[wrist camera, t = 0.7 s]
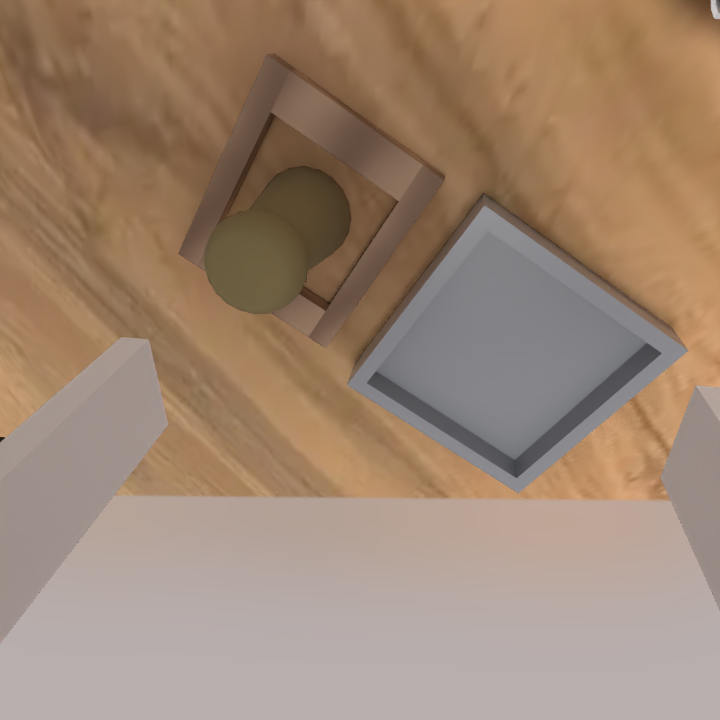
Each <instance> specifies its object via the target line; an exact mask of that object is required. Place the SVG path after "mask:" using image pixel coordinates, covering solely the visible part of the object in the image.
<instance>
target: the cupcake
mask: <svg viewBox="0 0 720 720" xmlns="http://www.w3.org/2000/svg"><path fill="white" fill-rule="evenodd" d="M710 5H711V11H712V14H713V17H714V19H720V0H710Z"/></svg>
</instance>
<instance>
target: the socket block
mask: <svg viewBox="0 0 720 720" xmlns="http://www.w3.org/2000/svg"><path fill="white" fill-rule="evenodd" d="M274 115H275V116H277V117H278V118H280V119H281V120H283V121H284V122H286V123H287V124H288V125H290V126H291V127H293V128H294V129H296V130H297V131H298V132H300V133H301V134H303V135H304V136H306V137H307V138H308V139H310V140H311V141H313V142H314V143H316V144H317V145H319V146H320V147H321V148H323V149H324V150H326V151H327V152H329V153H330V154H331V155H333V156H334V157H336V158H337V159H339V160H340V161H342V162H343V163H344V164H346V165H347V166H349V167H350V168H352V169H353V170H354V171H356V172H357V173H359V174H360V175H362V176H363V177H365V178H366V179H367V180H369V181H370V182H372V183H373V184H375V185H376V186H377V187H379V188H380V189H382V190H383V191H385V192H386V193H387V194H389V195H390V196H392V197H393V198H395V199H396V200H398V202H397V204H396V205H395V207H394V208H393V210H392V211H391V213H390V214H389V216H388V217H387V219H386V220H385V222H384V223H383V225H382V226H381V228H380V229H379V231H378V232H377V234H376V235H375V237H374V238H373V240H372V241H371V243H370V244H369V246H368V247H367V249H366V250H365V252H364V253H363V255H362V256H361V258H360V259H359V261H358V262H357V264H356V265H355V267H354V268H353V270H352V271H351V273H350V274H349V276H348V277H347V279H346V280H345V282H344V283H343V285H342V286H341V288H340V289H339V291H338V292H337V294H336V295H335V297H334V298H333V300H332V301H331V303H330V304H329V303H327V302H326V301H324V300H323V299H321V298H319V297H318V296H316V295H315V294H313V293H312V292H310V291H309V290H307V289H306V288H304V287H302V289H301V291H300V293H299V295H298V296H297V297H296V298H295V299H294V300H293V301H292V302H291V303H290V304H288V305H287V306H286V307H284V308H282V309H279V310H277V311H274V312H271V313H272V314H273V315H275V316H276V317H278V318H279V319H281V320H283V321H284V322H286V323H287V324H289V325H290V326H292V327H294V328H295V329H297V330H298V331H300V332H301V333H303V334H305V335H306V336H308V337H309V338H311V339H312V340H314V341H315V342H317V343H319V344H320V345H322V346H323V347H325V348H327V347H328V345H329V344H330V342H331V341H332V339H333V338H334V337H335V335H336V334H337V332H338V331H339V329H340V328H341V327H342V325H343V324H344V322H345V321H346V319H347V318H348V317H349V315H350V314H351V312H352V311H353V309H354V308H355V307H356V305H357V304H358V302H359V301H360V299H361V298H362V297H363V295H364V294H365V292H366V291H367V289H368V288H369V287H370V285H371V284H372V282H373V281H374V279H375V278H376V277H377V275H378V274H379V272H380V271H381V270H382V268H383V267H384V265H385V264H386V262H387V261H388V260H389V258H390V257H391V255H392V254H393V252H394V251H395V250H396V248H397V247H398V245H399V244H400V242H401V241H402V240H403V238H404V237H405V235H406V234H407V232H408V231H409V230H410V228H411V227H412V225H413V224H414V222H415V221H416V220H417V218H418V217H419V215H420V214H421V212H422V211H423V210H424V208H425V207H426V205H427V204H428V202H429V201H430V200H431V198H432V197H433V195H434V194H435V193H436V191H437V190H438V188H439V187H440V185H441V184H442V183H443V181H444V178H445V176H444V175H443V174H441V173H440V172H439V171H437V170H436V169H434V168H433V167H432V166H430V165H429V164H427V163H426V162H425V161H423V160H422V159H420V158H419V157H418V156H416V155H415V154H413V153H412V152H411V151H409V150H408V149H406V148H405V147H404V146H402V145H401V144H399V143H398V142H397V141H395V140H394V139H392V138H391V137H390V136H388V135H387V134H385V133H384V132H383V131H381V130H380V129H378V128H377V127H376V126H374V125H373V124H371V123H370V122H369V121H367V120H366V119H364V118H363V117H361V116H360V115H359V114H357V113H356V112H354V111H353V110H352V109H350V108H349V107H347V106H346V105H345V104H343V103H342V102H340V101H339V100H338V99H336V98H335V97H333V96H332V95H331V94H329V93H328V92H326V91H325V90H324V89H322V88H321V87H319V86H318V85H317V84H315V83H314V82H312V81H311V80H310V79H308V78H307V77H305V76H304V75H303V74H301V73H300V72H298V71H297V70H296V69H294V68H293V67H291V66H290V65H289V64H287V63H286V62H284V61H283V60H282V59H280V58H279V57H277V56H276V55H275V54H267V56H266V58H265V60H264V62H263V65H262V67H261V69H260V71H259V74H258V76H257V78H256V80H255V83H254V85H253V87H252V89H251V92H250V94H249V96H248V98H247V101H246V103H245V105H244V107H243V110H242V112H241V114H240V116H239V118H238V121H237V123H236V125H235V127H234V130H233V132H232V134H231V136H230V139H229V141H228V143H227V145H226V148H225V150H224V152H223V154H222V157H221V159H220V161H219V163H218V166H217V168H216V170H215V172H214V175H213V177H212V179H211V181H210V184H209V186H208V188H207V190H206V193H205V195H204V197H203V199H202V202H201V204H200V206H199V208H198V211H197V213H196V215H195V217H194V220H193V222H192V224H191V226H190V229H189V231H188V233H187V235H186V238H185V240H184V242H183V244H182V247H181V249H180V251H179V253H178V254H179V255H181V256H182V257H184V258H185V259H187V260H189V261H190V262H192V263H193V264H195V265H196V266H198V267H199V268H201V269H203V270H204V271H206V269H205V266H204V251H205V247H206V245H207V242H208V239H209V237H210V235H211V233H212V231H213V230H214V229H215V228H216V227H217V226H218V224H219V223H220V222H221V221H222V220H224V219H225V217H226V215H227V213H228V211H229V209H230V207H231V205H232V203H233V201H234V199H235V197H236V194H237V192H238V190H239V188H240V186H241V184H242V182H243V180H244V178H245V176H246V174H247V172H248V169H249V167H250V165H251V163H252V161H253V159H254V157H255V155H256V153H257V151H258V149H259V147H260V145H261V142H262V140H263V138H264V136H265V134H266V132H267V130H268V128H269V126H270V124H271V122H272V120H273V117H274Z"/></svg>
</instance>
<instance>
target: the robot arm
mask: <svg viewBox="0 0 720 720" xmlns="http://www.w3.org/2000/svg"><path fill="white" fill-rule="evenodd" d="M167 426H168V421H167V417H166V412H165V408H164V404H163V399H162V395H161V390H160V386H159V382H158V377H157V373H156V369H155V364H154V360H153V356H152V351H151V347H150V342H149V339H138V338H126V337H121V338H120V339H119V340H117V341H116V342H115V343H114V344H113V345H112V346H111V347H109V348H108V349H107V350H106V351H105V352H104V353H102V354H101V355H100V356H99V357H98V358H97V359H96V360H94V361H93V362H92V363H91V364H90V365H89V366H88V367H86V368H85V369H84V370H83V371H82V372H81V373H79V374H78V375H77V376H76V377H75V378H74V379H73V380H71V381H70V382H69V383H68V384H67V385H66V386H65V387H63V388H62V389H61V390H60V391H59V392H58V393H56V394H55V395H54V396H53V397H52V398H51V399H50V400H48V401H47V402H46V403H45V404H44V405H43V406H42V407H40V408H39V409H38V410H37V411H36V412H35V413H33V414H32V415H31V416H30V417H29V418H28V419H27V420H25V421H24V422H23V423H22V424H21V425H20V426H19V427H17V428H16V429H15V430H14V431H13V432H12V433H10V434H9V435H8V436H7V437H6V438H5V437H0V643H1V642H2V641H3V640H4V638H5V637H6V636H7V634H8V633H9V632H10V630H11V629H12V628H13V626H14V625H15V624H16V623H17V621H18V620H19V619H20V617H21V616H22V615H23V613H24V612H25V611H26V610H27V608H28V607H29V606H30V604H31V603H32V602H33V600H34V599H35V598H36V596H37V595H38V594H39V593H40V591H41V590H42V589H43V587H44V586H45V585H46V583H47V582H48V581H49V580H50V578H51V577H52V576H53V574H54V573H55V572H56V570H57V569H58V568H59V566H60V565H61V564H62V563H63V561H64V560H65V559H66V557H67V556H68V555H69V553H70V552H71V551H72V550H73V548H74V547H75V546H76V544H77V543H78V542H79V540H80V539H81V538H82V537H83V535H84V534H85V532H86V531H87V530H88V529H89V527H90V526H91V525H92V523H93V522H94V521H95V520H96V518H97V517H98V516H99V514H100V513H101V512H102V510H103V509H104V508H105V507H106V505H107V504H108V503H109V501H110V500H111V499H112V497H113V496H114V495H115V494H116V492H117V491H118V490H119V488H120V487H121V486H122V484H123V483H124V482H125V480H126V479H127V478H128V477H129V475H130V474H131V473H132V471H133V470H134V469H135V467H136V466H137V465H138V464H139V462H140V461H141V460H142V458H143V457H144V456H145V454H146V453H147V452H148V451H149V449H150V448H151V447H152V445H153V444H154V443H155V441H156V440H157V439H158V437H159V436H160V435H161V434H162V432H163V431H164V430H165V428H166V427H167ZM660 478H661V480H662V482H663V485H664V487H665V489H666V491H667V493H668V496H669V498H670V500H671V502H672V504H673V507H674V509H675V511H676V514H677V516H678V518H679V520H680V523H681V525H682V527H683V529H684V531H685V534H686V536H687V538H688V540H689V542H690V545H691V547H692V549H693V552H694V554H695V556H696V558H697V560H698V563H699V565H700V567H701V569H702V572H703V574H704V576H705V578H706V581H707V583H708V585H709V587H710V589H711V591H712V594H713V596H714V598H715V601H716V603H717V605H718V607H719V610H720V387H708V386H695V388H694V391H693V394H692V396H691V399H690V401H689V404H688V407H687V409H686V412H685V415H684V417H683V420H682V422H681V425H680V428H679V430H678V433H677V435H676V438H675V441H674V443H673V446H672V449H671V451H670V454H669V456H668V459H667V462H666V464H665V467H664V469H663V472H662V475H661V477H660Z"/></svg>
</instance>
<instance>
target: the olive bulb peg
mask: <svg viewBox="0 0 720 720" xmlns="http://www.w3.org/2000/svg"><path fill="white" fill-rule="evenodd" d="M350 222H351V214H350V207H349V202H348V200H347V198H346V196H345V194H344V192H343V190H342V188H341V187H340V186H339V185H338V184H337V183H336V182H335V181H334V179H333V178H332V177H330V176H328V175H327V174H325V173H323V172H321V171H320V170H317V169H313V168H308V167H296V168H289V169H287V170H285V171H283V172H281V173H279V174H277V175H276V176H275V177H274V179H273V180H272V181H271V182H270V183H269V184H268V185H267V186H266V188H265V189H264V191H263V192H262V193H261V195H260V196H259V197H258V199H257V200H256V201H255V203H254V204H253V205H252V207H251V208H250V210H248V211H239V212H237V213H235V214H233V215H231V216H229V217H227V218H226V219H224V220H222V221H221V222H220V223H219V224H218V226H217V227H216V228H215V229H214V230H213V231H212V233H211V235H210V237H209V239H208V242H207V245H206V247H205V251H204V266H205V269H206V273H207V276H208V280H209V282H210V283H211V285H212V287H213V288H214V290H215V292H216V293H217V294H218V295H219V296H220V297H221V298H222V299H223V300H224V301H225V302H226V303H228V304H229V305H231V306H233V307H235V308H236V309H238V310H241V311H245V312H249V313H253V314H266V313H271V312H274V311H277V310H279V309H282V308H284V307H286V306H287V305H288V304H290V303H291V302H292V301H293V300H294V299H295V298H296V297H297V296H298V295H299V293H300V291H301V289H302V287H303V286H304V284H305V282H306V280H307V272H308V271H309V270H310V269H311V268H313V267H314V266H316V265H317V264H318V263H320V262H321V261H322V260H324V259H325V258H327V257H328V256H329V255H331V254H332V253H333V252H334V251H335V250H337V249H338V248H339V247H340V246H341V245H342V244H343V242H344V240H345V238H346V236H347V234H348V233H349V228H350Z"/></svg>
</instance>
